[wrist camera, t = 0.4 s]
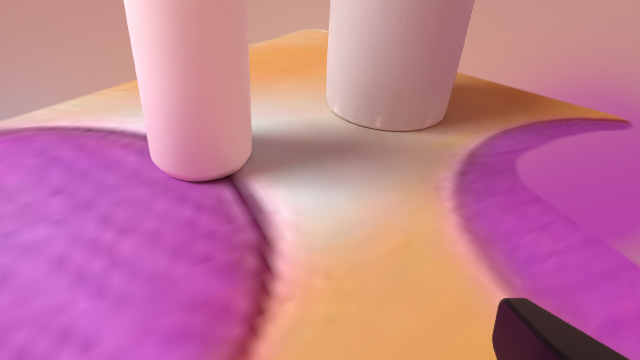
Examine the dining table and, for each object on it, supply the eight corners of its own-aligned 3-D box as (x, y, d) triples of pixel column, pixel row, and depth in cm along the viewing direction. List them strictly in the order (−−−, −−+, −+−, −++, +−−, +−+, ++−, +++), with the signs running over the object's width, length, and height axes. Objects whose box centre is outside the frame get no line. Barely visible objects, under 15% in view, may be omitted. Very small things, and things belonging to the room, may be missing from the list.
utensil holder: (476, 106, 55) (518, -62, 45) (405, 151, 46) (439, -51, 36) (373, 71, 63) (390, -79, 53) (295, 103, 53) (298, -72, 44)
